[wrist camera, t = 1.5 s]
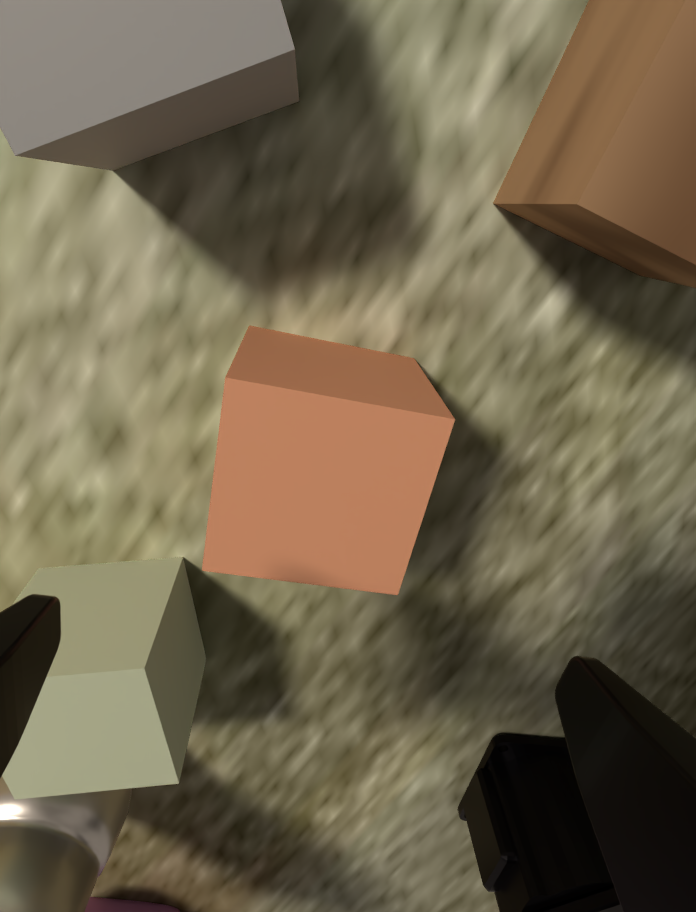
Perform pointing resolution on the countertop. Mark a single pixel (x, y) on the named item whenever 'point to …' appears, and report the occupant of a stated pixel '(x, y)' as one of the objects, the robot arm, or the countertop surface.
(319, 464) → the terracotta block
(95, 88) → the slate block
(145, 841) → the countertop surface
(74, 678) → the sage block
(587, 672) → the robot arm
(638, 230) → the walnut block
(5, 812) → the plastic bottle
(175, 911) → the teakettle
